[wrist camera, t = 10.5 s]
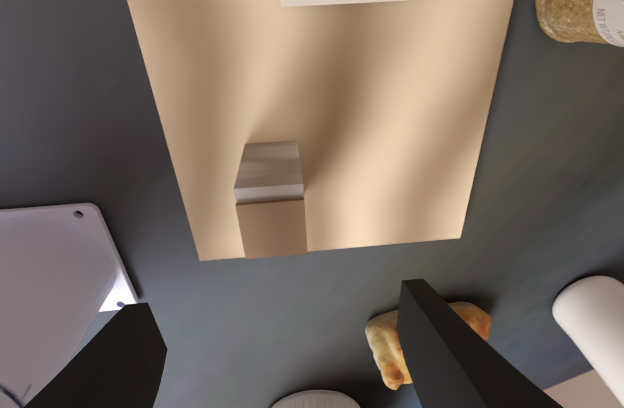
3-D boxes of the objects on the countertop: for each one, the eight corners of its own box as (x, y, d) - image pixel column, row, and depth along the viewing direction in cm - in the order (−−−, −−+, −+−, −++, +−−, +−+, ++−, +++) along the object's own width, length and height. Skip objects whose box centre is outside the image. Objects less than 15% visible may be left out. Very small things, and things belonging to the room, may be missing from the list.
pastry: (476, 277, 25) (506, 319, 21) (484, 331, 28) (511, 374, 25) (356, 316, 26) (367, 362, 22) (378, 364, 29) (391, 409, 26)
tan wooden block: (253, 199, 18) (245, 259, 14) (244, 144, 17) (232, 191, 12) (301, 196, 18) (307, 253, 14) (297, 140, 17) (303, 186, 12)
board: (203, 248, 21) (199, 261, 20) (74, -241, 11) (53, -267, 10) (451, 227, 22) (460, 238, 21) (548, -247, 12) (575, -272, 11)
